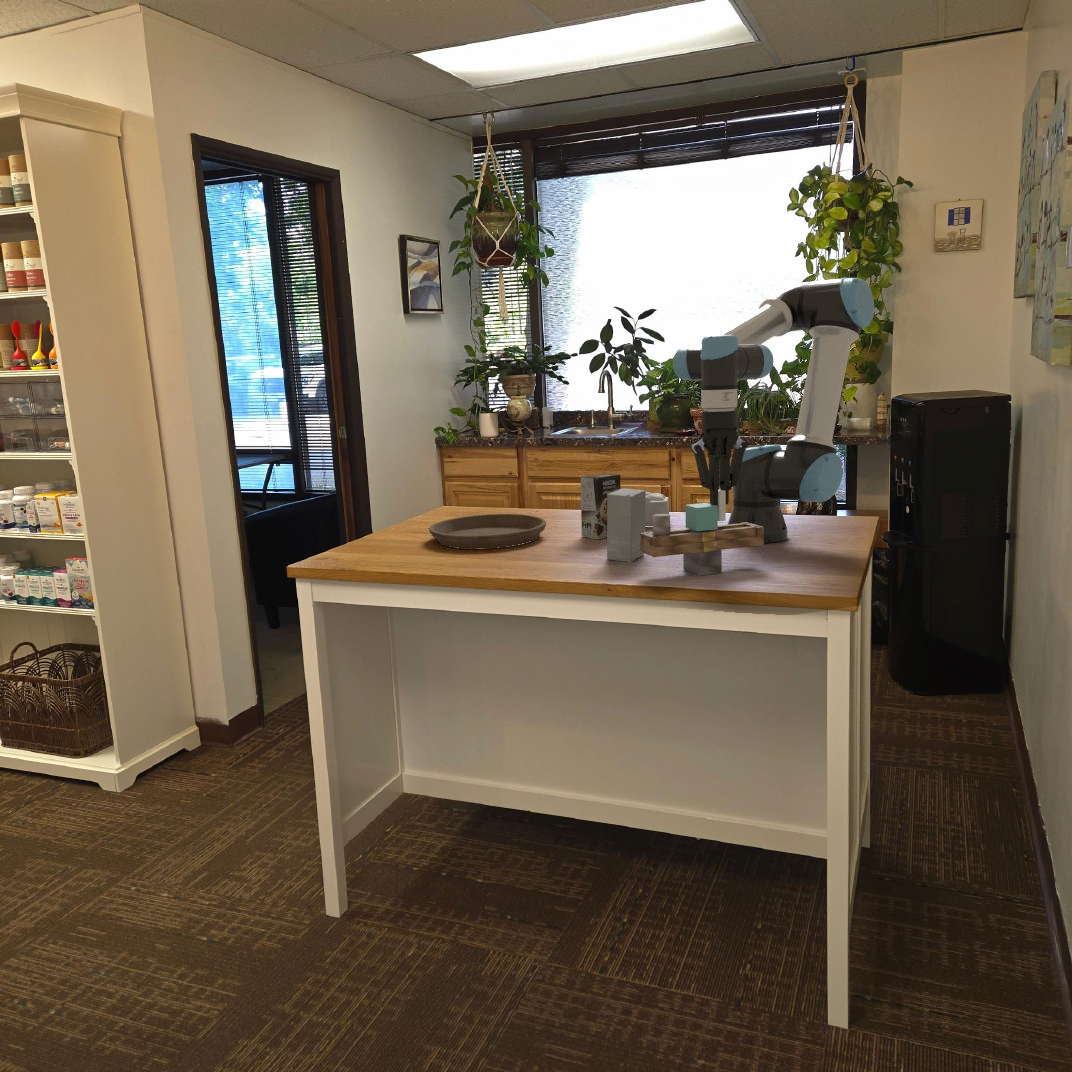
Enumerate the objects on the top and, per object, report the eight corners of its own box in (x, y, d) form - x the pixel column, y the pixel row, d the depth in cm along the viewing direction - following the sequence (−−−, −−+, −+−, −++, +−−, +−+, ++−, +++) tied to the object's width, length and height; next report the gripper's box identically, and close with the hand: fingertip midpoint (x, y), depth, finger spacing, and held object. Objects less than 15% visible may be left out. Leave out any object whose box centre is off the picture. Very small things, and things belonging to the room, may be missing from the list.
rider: (706, 534, 204) (706, 502, 203) (717, 538, 200) (717, 506, 198) (685, 537, 203) (685, 504, 202) (696, 541, 198) (696, 508, 197)
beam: (745, 561, 210) (745, 504, 208) (764, 568, 203) (765, 508, 200) (639, 573, 203) (638, 514, 200) (655, 581, 195) (654, 519, 193)
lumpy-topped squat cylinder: (667, 528, 254) (667, 496, 253) (619, 528, 257) (619, 496, 256) (670, 521, 264) (669, 491, 263) (624, 521, 267) (623, 491, 266)
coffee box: (598, 540, 241) (596, 478, 238) (580, 537, 246) (579, 476, 243) (622, 534, 247) (621, 474, 244) (605, 532, 252) (603, 472, 249)
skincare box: (621, 553, 224) (619, 487, 221) (648, 555, 221) (647, 488, 218) (605, 560, 217) (603, 492, 214) (633, 562, 213) (631, 493, 210)
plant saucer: (452, 557, 228) (451, 538, 228) (415, 537, 256) (414, 520, 255) (566, 542, 241) (565, 525, 240) (519, 525, 269) (518, 509, 268)
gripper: (700, 412, 192) (700, 525, 196) (755, 408, 196) (755, 519, 200) (683, 410, 199) (684, 520, 203) (737, 407, 203) (737, 515, 207)
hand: (719, 519), depth 202 cm, fingers closed
